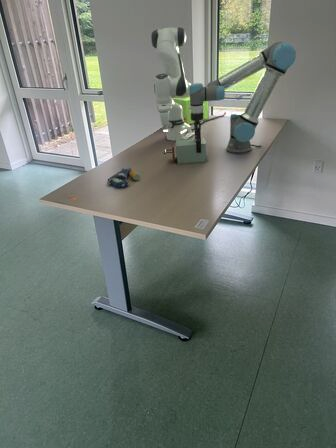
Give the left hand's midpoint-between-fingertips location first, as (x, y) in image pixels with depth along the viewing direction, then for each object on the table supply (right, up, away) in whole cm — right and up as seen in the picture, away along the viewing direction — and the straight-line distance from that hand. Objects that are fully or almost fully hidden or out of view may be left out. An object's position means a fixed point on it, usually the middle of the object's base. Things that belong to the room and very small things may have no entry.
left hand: (166, 129), depth 198 cm
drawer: (+10, -16, +9) cm, 21 cm away
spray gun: (-23, -32, -10) cm, 41 cm away
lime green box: (+20, +34, +91) cm, 99 cm away
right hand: (+20, -10, +6) cm, 23 cm away
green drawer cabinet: (+16, -16, +10) cm, 24 cm away
